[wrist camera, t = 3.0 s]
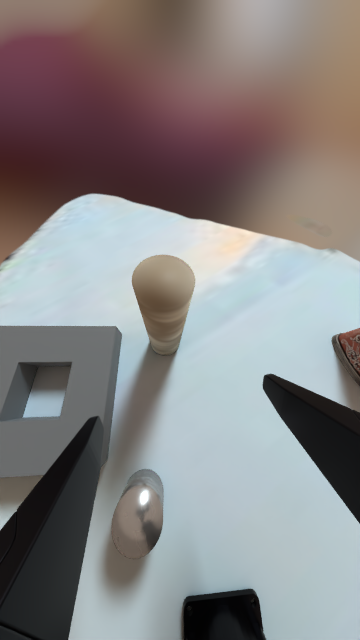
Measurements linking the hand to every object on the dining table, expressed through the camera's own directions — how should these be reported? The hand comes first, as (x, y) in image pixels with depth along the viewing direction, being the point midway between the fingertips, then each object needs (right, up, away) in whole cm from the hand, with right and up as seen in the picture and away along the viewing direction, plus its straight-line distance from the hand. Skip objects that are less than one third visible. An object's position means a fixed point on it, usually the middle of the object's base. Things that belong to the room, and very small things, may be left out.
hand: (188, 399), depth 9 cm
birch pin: (-2, +1, +15) cm, 15 cm away
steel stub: (-4, -13, +8) cm, 16 cm away
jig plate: (-15, -4, +11) cm, 19 cm away
